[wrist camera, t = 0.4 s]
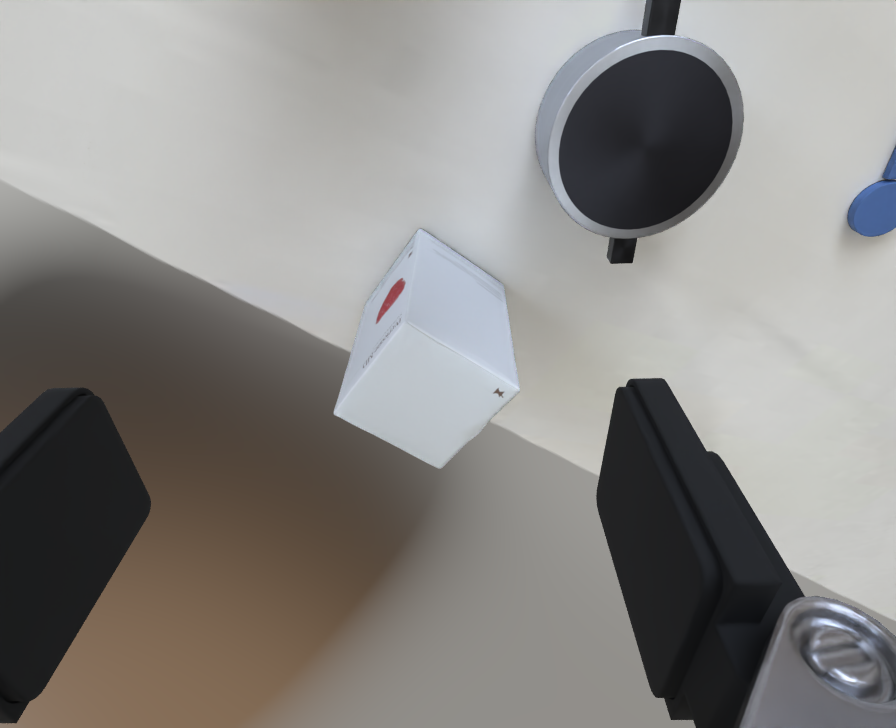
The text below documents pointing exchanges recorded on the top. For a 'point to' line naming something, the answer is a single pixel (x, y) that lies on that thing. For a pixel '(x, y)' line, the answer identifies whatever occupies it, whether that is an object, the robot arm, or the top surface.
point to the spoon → (876, 205)
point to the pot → (639, 130)
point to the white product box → (430, 354)
